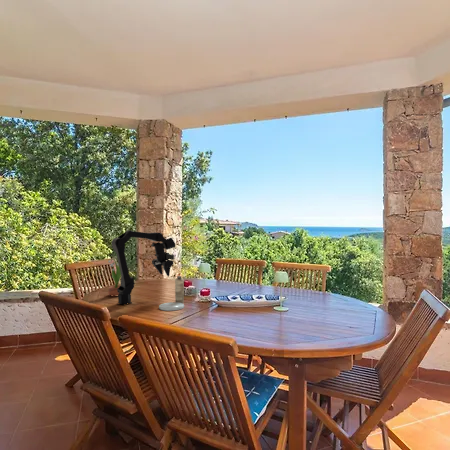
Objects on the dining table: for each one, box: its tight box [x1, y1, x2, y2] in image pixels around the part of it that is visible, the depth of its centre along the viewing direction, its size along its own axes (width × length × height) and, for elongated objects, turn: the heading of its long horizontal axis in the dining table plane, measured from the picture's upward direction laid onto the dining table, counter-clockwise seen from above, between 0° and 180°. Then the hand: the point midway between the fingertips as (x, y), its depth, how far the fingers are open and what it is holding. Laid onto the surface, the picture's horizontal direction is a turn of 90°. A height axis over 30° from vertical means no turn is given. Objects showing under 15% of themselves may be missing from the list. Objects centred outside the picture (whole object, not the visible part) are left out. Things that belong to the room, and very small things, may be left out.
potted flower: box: [107, 258, 121, 297], centre depth 222 cm, size 12×10×25 cm
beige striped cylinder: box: [174, 275, 185, 304], centre depth 201 cm, size 5×5×16 cm
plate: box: [158, 301, 185, 312], centre depth 189 cm, size 14×14×1 cm
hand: (164, 275), depth 215 cm, fingers open, 9 cm apart
